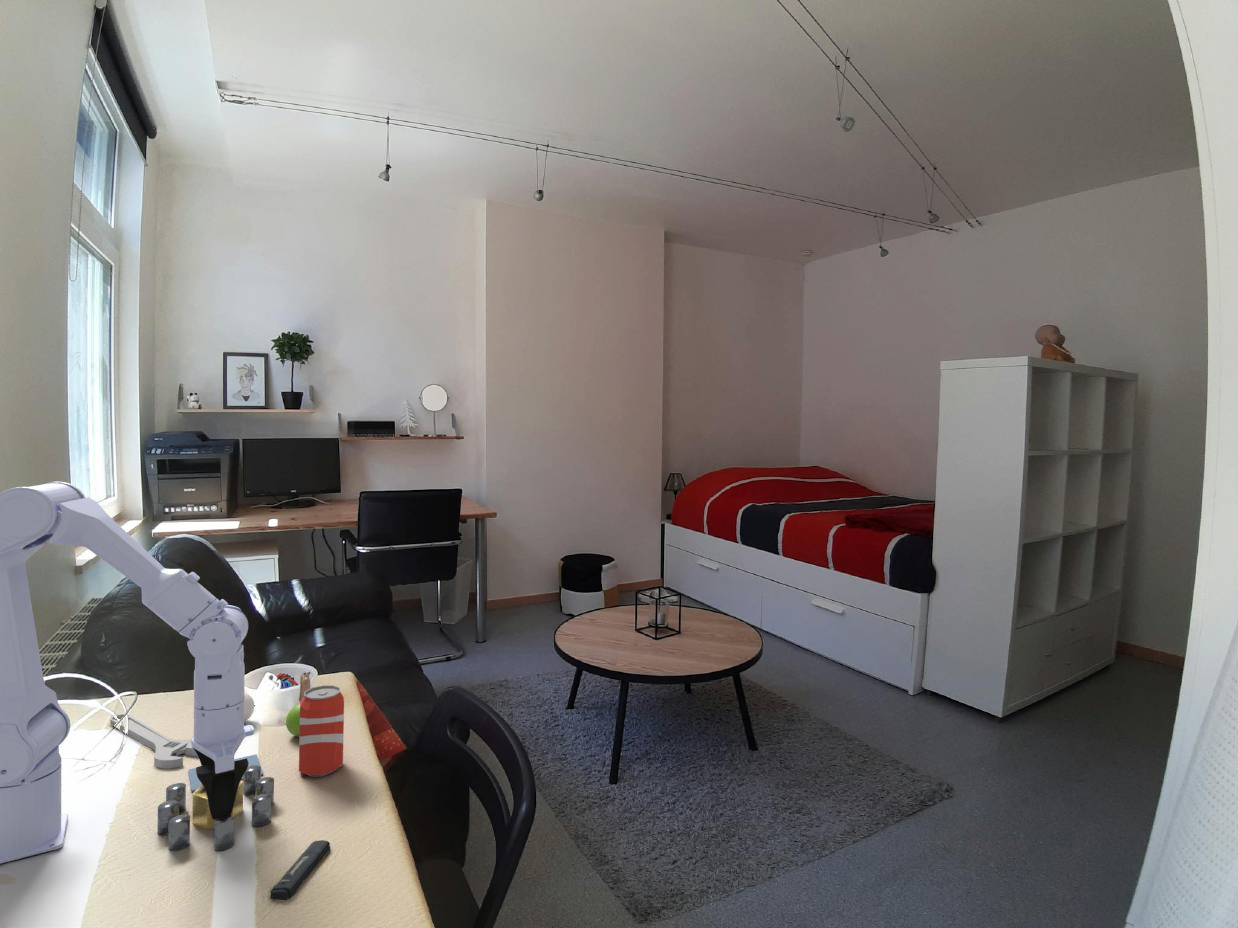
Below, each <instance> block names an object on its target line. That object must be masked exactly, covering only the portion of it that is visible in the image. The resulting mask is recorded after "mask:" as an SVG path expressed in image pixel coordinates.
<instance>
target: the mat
mask: <svg viewBox="0 0 1238 928" xmlns="http://www.w3.org/2000/svg"><path fill="white" fill-rule="evenodd" d="M258 757H259V756H258V754H251V755H246V756H242V757H238V758H234V761H237V760H242V759H246V758H247V760H248V763H249V764H248V767H249V766H253V765H258V766H260V767H261V777H263V776H264V771H263V769H262V765H261V762H260V760H259V758H258ZM188 776H189V782H190V792H191V793H194V792H195V791H196V790H197V789H198V788H199V787H200V786H201V785H202V783H201V782H200V781H199V779H198V777H197V773H196V767H194V768H190V769H189V768H188ZM241 781H243V777H242V779H241Z"/></svg>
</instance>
